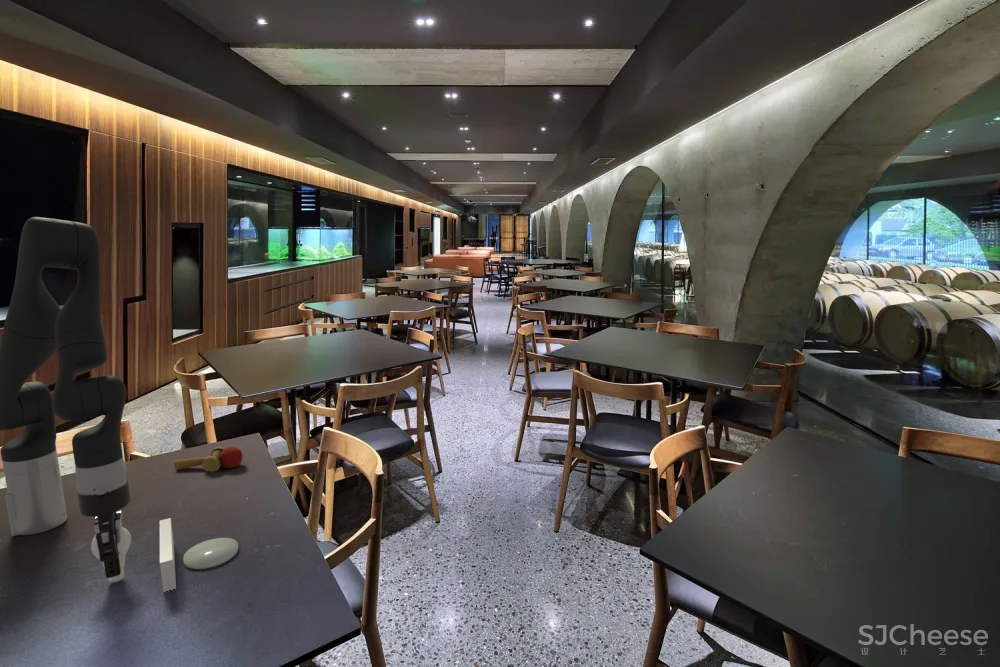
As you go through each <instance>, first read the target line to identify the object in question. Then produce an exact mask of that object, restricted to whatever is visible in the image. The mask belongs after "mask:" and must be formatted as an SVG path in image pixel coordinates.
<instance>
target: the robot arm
mask: <svg viewBox="0 0 1000 667" xmlns="http://www.w3.org/2000/svg"><path fill="white" fill-rule="evenodd" d="M21 230H22V231H21V235H20V239H19V240H20V241H19V246H18V247H19V248H18V256H17V263H16V271H15V272H16V273H15V280H14V284H13V290H12V294H11V299H10V302H9V306H8V309H7V313H6V316H5V321H4V325H3V330H2V334H1V341H0V431H9V430H13V429H18V428H21V427H25V428H24V429H23V430H22V431H21V432H20V433H18V435H17V436H15V437H14V438H12V439H10V440H9V441H7V442H6V443H5V444H3V445H2V446H1V448H0V457H1V463H2V468H3V473H4V479H5V485H6V486H5V487H6V494H5V497H4V499H5V504H6V509H7V510H6V511H7V516H8V522H9V526H10V527H9V528H10V531H11V536H12V537H16V536H31V535H36V534H40V533H44V532H47V531H50V530H53V529H55V528H58V527H59V526H61V525H62V524H64V523H65V522H66V521H67V519H68V516H67V508H66V502H65V495H64V490H63V483H62V476H61V471H60V470H61V469H60V465H59V464H60V463H59V458H58V451H57V445H56V443H57V442H56V441H57V429H56V428H57V427H56V417H58V418H59V419H60V420H62V421H66V422H72V421H79V420H84V419H90V418H95V417H100V416H103V418H102V420H101V421H100V422H99V423H98V424H95V425H94V426H90V427H88V428H85V429H82V430H81V431H79V432H77V433H75V434H74V435H73V436H72V440H71V447H72V453H73V459H74V466H75V472H74V476H75V477H74V478H75V486H76V491H77V499H78V505H79V510H80V514H82V515H83V516H85V517H95V518H94V519H95V520H94V522H93V531H94V533H95V535H96V539H97V546H98V549H99V555H100V560H101V561H100V560H99V561H100V563H101V562H104V566H103V568H104V567H105V570H104V572H105V573H104V574H105V577H106V579H108V578H111V577H114V576H118V575H120V573H121V568H120V561H119V554H120V552H119V550H118V543H119V542H120V541H121V535H120V526H121V527H123V522H122V520H123V514H122V511H121V510H122V509H124V508H126V507H127V506H128V505H129V503H130V501H131V494H130V488H129V487H130V486H129V479H128V478H129V477H128V472H127V471H128V470H127V466H126V463H125V460H124V455H123V448H122V447H123V446H122V440H121V425H122V419H123V413H124V409H125V405H126V401H127V387H126V384H125V383H124V381H122V379H120V377H118V376H115V375H104V376H97V377H89V378H79V379H77V377H78V376H79V375H81V374H82V373H85V372H87V371H91V370H94V369H97V368H98V367H101V366H103V365H105V363H106V362H107V360H108V353H107V352H108V351H107V347H106V340H105V336H104V330H103V324H102V318H101V269H100V268H101V266H100V265H101V264H100V263H101V262H100V261H101V260H100V244H99V239H98V235H97V233H96V231H95V229H94V228H93V227H92V225H89V224H87V223H82V222H77V221H71V220H66V219H65V220H64V219H63V220H62V219H58V218H57V219H56V218H50V217H48V218H47V217H40V216H33V217H30V218H28V219H27V220H26V221H25V223H24V225H23V227H22V229H21ZM45 268H53V269H67V270H76V271H77V283H76V286H75V288H74V290H73V291H72V293H71V294H70V296H69V298H68V299H67V301H65V303H64V304H63V305H62V307H60V306H59V303H58V302H57V301H56V300H55V298H54V297H53V296H52V294H51V293H50V291H48V289H47V286H46V285H45V283H44V281H43V278H42V277H43V276H42V274H43V270H44V269H45ZM56 353H57V359H58V360H57V363H58V365H57V366H58V369H57V370H58V371H57V377H56V381H55V385H54V390H53V392H52V393H53V394H52V393H51V390H50V389H49V387H48V386H47V385H46V384H45V383H43V382H41V381H29V382H27V380H28V379H29V378H30V377H31V376H32V375H34V374H35V373H36V372H37V371H38V370H39V369H40V368H42V366H44V365H45V364H46V363H47V362H48V361H49V360H50V359H51V358H52V357H53V356H54V355H55V354H56ZM55 415H56V417H55ZM115 535H116V536H117V537H116V539H115ZM110 549H112V550H113V551H111V552H107V553H105V551H107V550H110Z"/></svg>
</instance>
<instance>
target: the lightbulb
mask: <svg viewBox="0 0 1000 667" xmlns="http://www.w3.org/2000/svg"><path fill="white" fill-rule="evenodd" d="M120 535H121V541H120V542H119V543H118V550H119V552H120V554H119V561H120V568H121V573H120V575H118V576H114V577H111V578H107V581H108V582H109V583H118V582H119V581H120V580H123V578H124V577H125V566H126V562H125V561H126V556H127V555H126V554H127V553H128V551H129V548H130V546H131V543H132V535H131V534H130V531H129V530H128V529H127V528H125V527H124V526H122V527H121V526H120ZM116 537H117V536H116V535H115V539H116ZM90 550H91V553H92V554H93V556H94V557H95V558H96V559H97V560H99V562H100V563H101V564H102V566H103V569H104V571H105V567H104V562H101V560H100V555H99V549H98V546H97V539H96V534H95V535H94V537H93V538H92V541H91V544H90ZM111 551H113V550H112V549H110V550H107V551H105V553H107V552H111Z"/></svg>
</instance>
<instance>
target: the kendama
mask: <svg viewBox="0 0 1000 667" xmlns="http://www.w3.org/2000/svg"><path fill="white" fill-rule="evenodd" d="M210 454H211V455H209V456H206V457H202V456H200V457H194V458H193V457H191V458H182V459H181V458H180V459H176V460H175V461H174V469H175V470H177V471H179V470H180V469H181V470H184V469H189V468H192V467H197V466H201V467H202V468H203V469H204V471H206V472H208V471H213V470H214V471H216V472H217V471H218V470H219V469H220V468H221V467H224V468H226V469H233V467H234V468H237V467H238V466H240V465H241V464H242V461H243V453H242V450H241V449H240V448H238V447H237V446H228V447H226V448H225V447H223V446H217V447H214V449H212V451H211V453H210Z"/></svg>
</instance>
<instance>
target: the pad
mask: <svg viewBox="0 0 1000 667" xmlns="http://www.w3.org/2000/svg"><path fill="white" fill-rule="evenodd" d="M238 551H239V543H238V541H237V540H236V539H234V538H230V537H218V538H217V537H216V538H212V539H208V540H204V541H202V542H199V543H197V544H195V545H194V546H191V547H190V548H189V549H188V550H187V551H186V552H185V553H184V555H183V565H184V567H186V568H188V569H191V570H205V569H209V568H214V567H217V566H220V565H222V564H224V563H226V562H228V561H230V560H231V559H233V558H234V557H235V556H236V555H237V553H238Z"/></svg>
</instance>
